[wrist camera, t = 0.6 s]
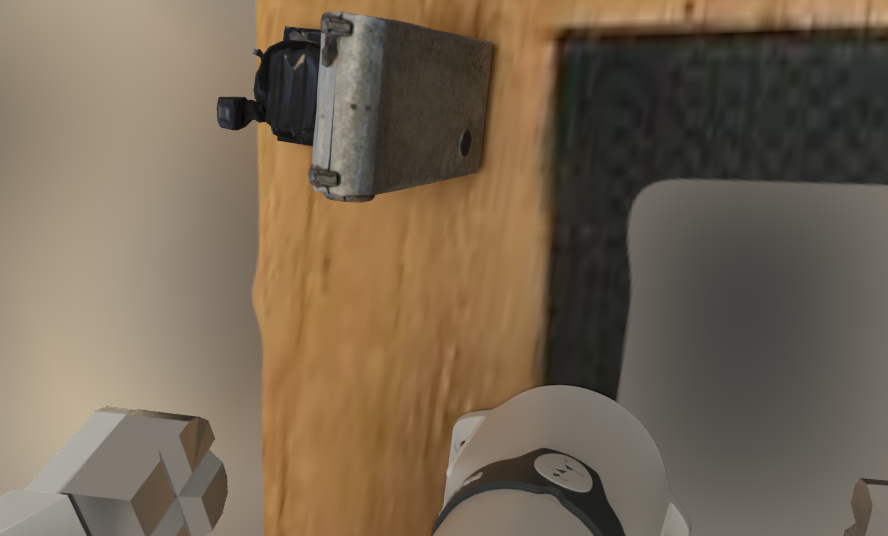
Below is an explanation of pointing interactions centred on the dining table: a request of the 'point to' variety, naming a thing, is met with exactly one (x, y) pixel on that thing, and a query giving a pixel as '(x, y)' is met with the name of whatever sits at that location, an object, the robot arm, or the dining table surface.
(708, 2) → the dining table surface
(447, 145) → the vintage camera
